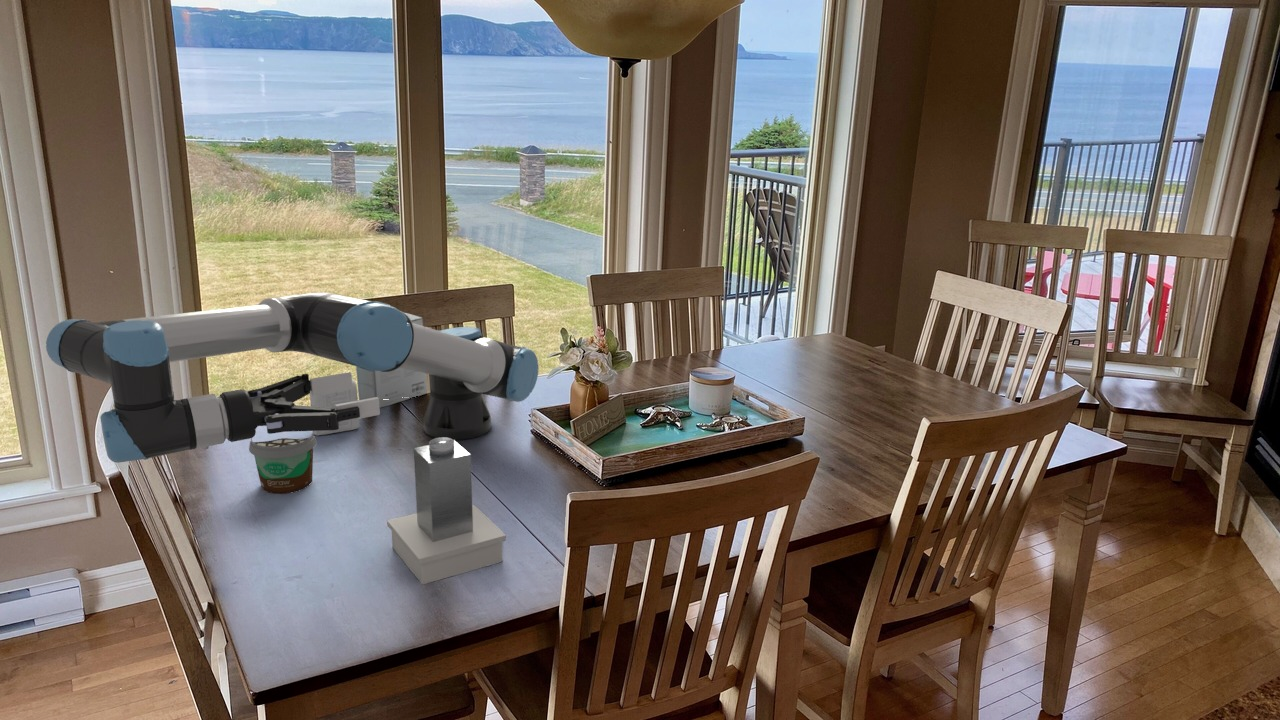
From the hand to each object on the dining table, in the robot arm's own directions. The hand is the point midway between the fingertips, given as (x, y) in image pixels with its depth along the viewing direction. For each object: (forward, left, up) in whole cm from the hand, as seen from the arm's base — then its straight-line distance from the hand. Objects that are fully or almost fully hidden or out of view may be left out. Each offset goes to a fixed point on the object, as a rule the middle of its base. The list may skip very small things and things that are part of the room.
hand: (364, 392), depth 147 cm
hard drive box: (-28, -71, -29) cm, 81 cm away
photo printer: (-10, -57, -29) cm, 64 cm away
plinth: (-10, +7, -29) cm, 31 cm away
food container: (+7, -32, -29) cm, 43 cm away
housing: (-10, +7, -24) cm, 27 cm away
